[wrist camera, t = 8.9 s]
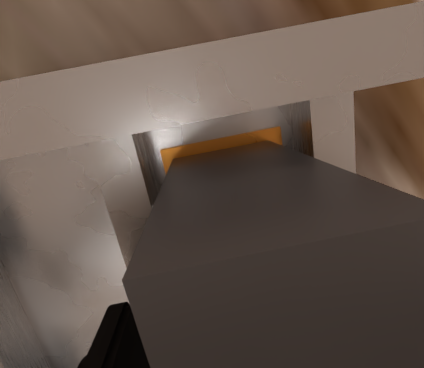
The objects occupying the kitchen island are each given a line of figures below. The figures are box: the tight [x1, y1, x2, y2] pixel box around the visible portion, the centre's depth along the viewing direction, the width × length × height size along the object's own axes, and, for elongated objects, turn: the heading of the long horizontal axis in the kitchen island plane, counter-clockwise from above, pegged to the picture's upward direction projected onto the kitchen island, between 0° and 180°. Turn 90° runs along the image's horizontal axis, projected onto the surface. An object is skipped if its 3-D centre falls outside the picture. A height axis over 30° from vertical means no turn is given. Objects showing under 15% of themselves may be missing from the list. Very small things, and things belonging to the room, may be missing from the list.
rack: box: [0, 1, 424, 368], centre depth 10 cm, size 16×16×6 cm
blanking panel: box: [122, 140, 424, 368], centre depth 8 cm, size 10×4×8 cm, turn 10°
